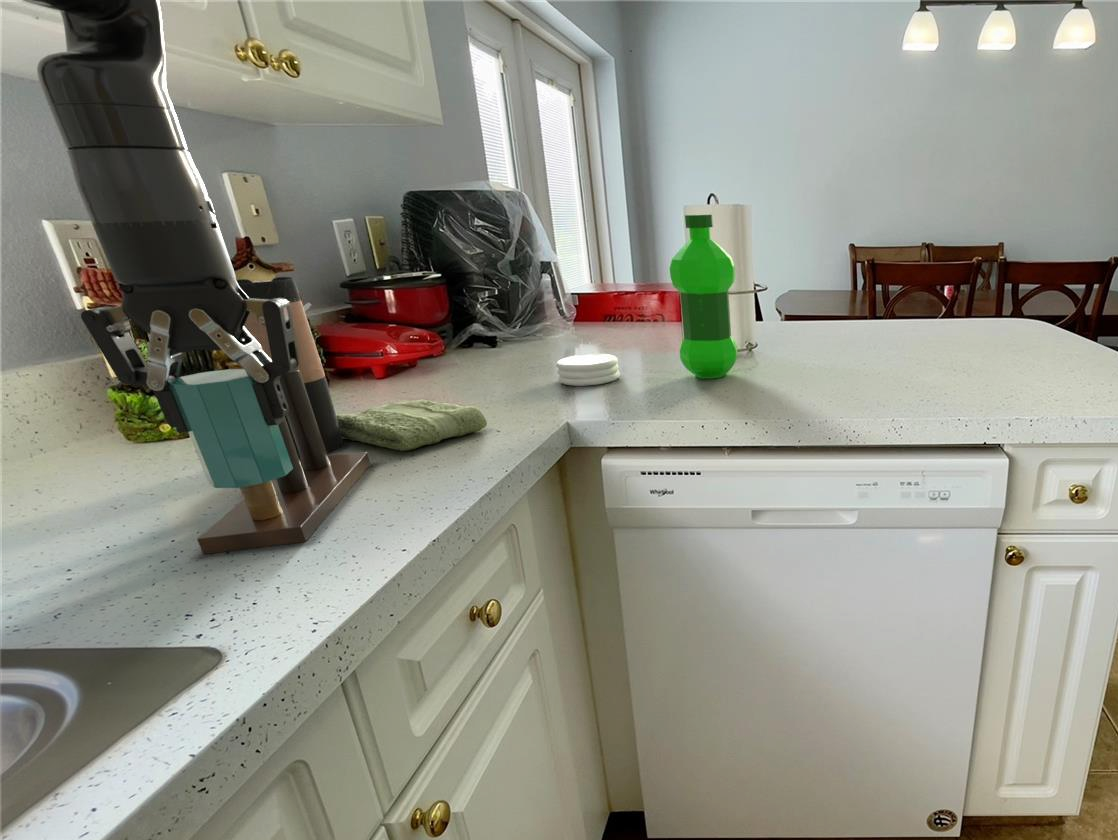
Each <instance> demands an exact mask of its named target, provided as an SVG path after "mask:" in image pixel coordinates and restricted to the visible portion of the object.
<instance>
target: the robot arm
mask: <svg viewBox="0 0 1118 840" xmlns="http://www.w3.org/2000/svg"><path fill="white" fill-rule="evenodd" d="M22 1H23V2H26V3H30V4H33V5H37V6H39V7H43V8H48V9H51V10H55V11H59V13H60V15H61V18H62V22H63V27H64V36H65V47H66V51H60V52H54V53H51V54H47V55H45V56H43V57H41V58H40V60H39V61H38V64H37V66H36V74H37V78H38V82H39V85H40V87H41V90H42V93H43V96H44V98H45V99H44V100H45V101H46V104H47V106H48V109H49V111H50V114H51V116H52V119H53V121H54V123H55V126H56V128H57V131H58V133H59V136H60V138H61V141H62V144H63V146H64V148H65V149H67V150H66V153H67V156H68V159H69V163H70V166H71V170H72V175H73V179H74V182H75V185H76V188H77V191H78V194H79V197H80V198H81V200H82V203H83V205H84V207H85V210H86V214H87V215H88V217H89V220H90V222H91V225H92V227H93V230H94V232H95V235H96V237H97V239H98V242H99V244H100V247H101V249H102V252H103V254H104V256H105V258H106V261H107V263H108V266H109V268H110V270H111V271H110V272H111V273H112V276H113V278H114V280H115V281H116V283H117V285H118V286H119V287H120V289H121V293H122V300H121V305H117V306H108V305H105V306H100V307H95V308H90V309H86V310H83V311H82V312H81V313H80V318H81V321H82V322H83V323H84V324H83V325H85V327H86V329H87V330H88V332H89V334H90V335H91V337H92V339H93V340H94V342H95V343H96V345H97V347H98V348H99V351H100V352H101V353H102V355H103V357H104V359H105V360H106V361H107V364H108V365H109V366H110V369H111V370H112V372H113V373H114V375H115V377H116V378H117V380H118V381H119V382H120V383H121V384H123V385H127V386H130V385H137V386H141V387H145V388H148V389H149V390H151V391H152V392H153V394H154V395H155V398H156V401H157V404H158V405H159V407H160V410H161V412H162V415H163V417H164V420H165V422H166V423H167V424H168V425H169V427H171V428H175V429H176V431H177V433H178V434H187V433H188V431H187V428H186V426H185V423H184V421H183V419H182V416H181V414H180V411H179V409H178V406H177V404H176V401H175V399H174V396H173V394H172V391H171V389H170V387H169V384H168V382H169V381H172V380H174V379H176V378H179V377H181V371H182V364H183V361H184V360H185V358H186V357H187V356H186V355H187V353H191V352H193V351H197V350H203V351H209V352H212V351H223V353H224V354H225V355H226V356H227V358H229V359H230V360H231V361H233V362H236V363H237V364H239V366H240V367H241V368H242V369H244V370H245V371H246V372H247V373H248V374H249V375H250V376H251V377H252V378H253V379H254V380H255V381H256V383H255V384H253V388H254V391H255V394H256V396H257V399H258V402H259V405H260V408H261V410H262V413H263V416H264V419H265V422H266V424H267V425H269V426H272V425H279V424H280V423H282V422H283V421H284V419H285V418H284V416H286V415H287V414H288V410H289V407H288V404H287V402H286V399H285V396H284V393H283V390H282V387H281V384H280V380H279V379H280V376H281V375H282V374H286V373H288V372H289V371H291V370H292V369H295V368H297V367H298V366H299V364H300V360H299V355H298V349H297V343H296V337H295V331H294V325H293V319H292V314H291V308H290V304H289V302H288V301H287V300H286V299H284V298H275V299H271V300H269V299H254V298H249V297H248V296H247V295H246V294H245V293H244V292H243V291H242V290H241V288H240V287H239V285H238V283H237V281H236V280H237V277H236V272H235V270H234V266H233V264H232V261H231V258H230V254H229V252H228V249H227V246H226V243H225V240H224V238H223V235H222V231H221V229H220V226H219V223H218V220H217V216H216V210H215V206H214V203H213V201H212V199H210V197H209V193H208V191H207V188H206V186H205V183H204V181H203V179H202V177H201V174H200V172H199V170H198V169H197V167H196V164H195V163H194V160H193V158H192V155H191V153H190V152H189V147H188V145H187V142H186V139H185V136H184V134H183V130H182V128H181V125H180V122H179V119H178V116H177V114H176V111H175V108H174V105H173V102H172V100H171V98H170V95H169V92H168V87H167V61H166V50H165V49H166V48H165V39H164V31H163V19H162V11H161V6H160V0H22ZM250 312H252V313H253V314H255V316H256V317H257V320H258V322H259V323H260V324H262V325H264V326H266V330H267V335H268V341H269V346H270V352H271V357H272V360H271V359H270V358H269V357H268V356H267V355H266V354H265V353H264V352H263V351H262V348H261V345H260V344H259V343H258V342H257V341H256V340H255V339H254V337H253V336H252V335H251V334H250V333H249V332H248V331H247V330H246V329H245V328H244V325H245V323H246V320H247V318H248V316H249V313H250ZM130 321H131V322H133V323H134V324H135V325H136V326H138V327H139V328H141V330H143V331H144V332H146V333H147V334H148V335H149V338H148V339H149V340H148V346H147V352H146V360H147V361H146V360H145V358H144V356H143V355H142V353H141V351H140V349H139V347H138V345H136V342H135V340H134V339H133V337H132V336H131V334H130V332H131V330H132V326H131V322H130ZM147 362H148V363H147ZM188 434H189V433H188Z"/></svg>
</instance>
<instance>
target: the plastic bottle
mask: <svg viewBox="0 0 1118 840" xmlns="http://www.w3.org/2000/svg"><path fill="white" fill-rule="evenodd" d="M684 221H685V228H686V229H689V239H688V241H687V242H685V244H684V245H683V246H682V247H681V248H679V250H678V251H677V253H675V255H674V256H673V257H672V259H671V261H670V264H669V265H670V266H669V276H670V280H671V284H672V286H673V287H674V289H676V291H678V292H679V296H680V306H681V307H680V308H681V318H682V329H683V340H682V342H681V345H680V349H679V359H680V361H681V363H682V366H684V367H685V368H686V370H688V371H689V373H691V374H693V375H695V378H699V379H717V378H718V379H719V378H722V377H726V375H727V373H728V372H729V371H730V370H731V369H732V368H733V366H734V365H735V363H736V361H737V357H738V354H739V353H738V352H739V351H738V345H737V342H736V340H735V338H734V337H733V335H732V330H731V328H732V327H731V326H732V325H731V311H730V296H729V295H730V294H729V289H730V288H731V287H732V286H733V284H734V283H735V276H736V268H735V267H736V265H735V262H734V260H733V258H732V256H731V255H730V254H729V253H728V252H727V251H726V250H724V248H723V247H722V246H721V245H719V244H718V242H716V241H715V240H714V239H712V238H711V228H713V227H714V222H713V221H714V220H713V214H685V215H684Z"/></svg>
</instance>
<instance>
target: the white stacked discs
mask: <svg viewBox="0 0 1118 840" xmlns="http://www.w3.org/2000/svg"><path fill="white" fill-rule="evenodd" d="M618 363H619V359H618V357H616V355H612V354H608V353H607V354H606V353H587V354H586V353H585V354H577V355H576V354H575V355H570V356H567V357H563V358H561V359H559V360H557V362H556V365H555V367H556V368H557V374H558V375H559V376H558V381H559V382H560V383H561V384H563V385H566V386H571V387H572V386H573V387H589V386H599V385H604V384H608V383H612V382H614V381H617V380H618V379H619V378H620V376H621V374H620V371H619V370H620V366H619V364H618Z"/></svg>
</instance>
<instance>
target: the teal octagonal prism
mask: <svg viewBox="0 0 1118 840" xmlns="http://www.w3.org/2000/svg"><path fill="white" fill-rule="evenodd" d="M255 383H256V381H255V380H254V379H253V378H252V377H251V376H250V375H249V374H248V373H247V372H246V371H245V370H244V368H230V369H219V370H212V371H204V372H203V371H202V372H197V373H193V374H188V375H183V376H180V377H179V378H176V379H174V380H172V381H169V382H168V384H169V387H170V389H171V391H172V394H173V396H174V399H175V401H176V404H177V406H178V409H179V411H180V414H181V416H182V419H183V421H184V423H185V426H186V428H187V431H188V436H189V438H190V441H191V443H192V445H193V448H194V451H195V453H196V456H197V458H198V460H199V463H200V465H201V468H202V470H203V473H204V475H205V478H206V480H207V483H208V484H209V485H210V486H212V487H213V488H214V489H240V487H246V486H251V485H257V484H262V483H266V482H269V481H272V480H275V479H278V478H280V477H283V476H286V475H287V474H288V473H289V472H290V471H291V470H292V469H293V466H292V463H291V461H290V458H289V455H288V452H287V449H286V446H285V443H284V441H283V438H282V435H281V432H280V429H279V426H278V425H272V426H269V425H267V424H266V422H265V419H264V416H263V413H262V410H261V408H260V405H259V402H258V399H257V396H256V394H255V391H254V388H253V384H255Z"/></svg>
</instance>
